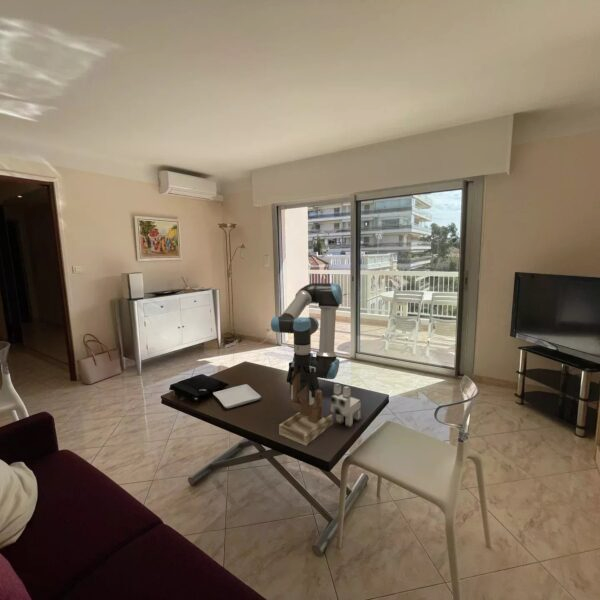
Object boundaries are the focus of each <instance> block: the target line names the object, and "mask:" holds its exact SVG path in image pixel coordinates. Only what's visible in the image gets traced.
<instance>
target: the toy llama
mask: <svg viewBox="0 0 600 600" xmlns="http://www.w3.org/2000/svg"><path fill="white" fill-rule="evenodd" d="M361 400H362V399H360V398H357V397H354V396H351V386H349V385H344V386H343V387H342V383H339V382H336V383H334V384H333V395H331V396H330V413H333V414H336V418H335V419H336V421H335V422H336V423H337V424H340V425H341V424H342V423H345V424H344V425H345V427H347V428H351V427H353V424H354V423H353V422H354V420H355V421H360V420H361V413H362V412H361V411H362V410H361V405H362V402H361ZM344 417H345V419H344ZM359 419H360V420H359Z"/></svg>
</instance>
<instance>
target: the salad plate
mask: <svg viewBox="0 0 600 600" xmlns="http://www.w3.org/2000/svg"><path fill="white" fill-rule="evenodd" d="M212 394H213V396H215V398H217V399H218V401H219V402H220V403H221V404H222V406H223V407H224V408H225V409H232V408H235V407H239V406H242V405H247V404H249V403H253V402H255V401H259V400H260V399H261V398H262V396H261V395H260V394H259V393H258V392H257V391H255V390H254V389H253V388H252V387H251V386H250V385H249V384H247V383H246V384H241V385H237V386H233V387H230V388H225V389H222V390H218V391H213V392H212Z"/></svg>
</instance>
